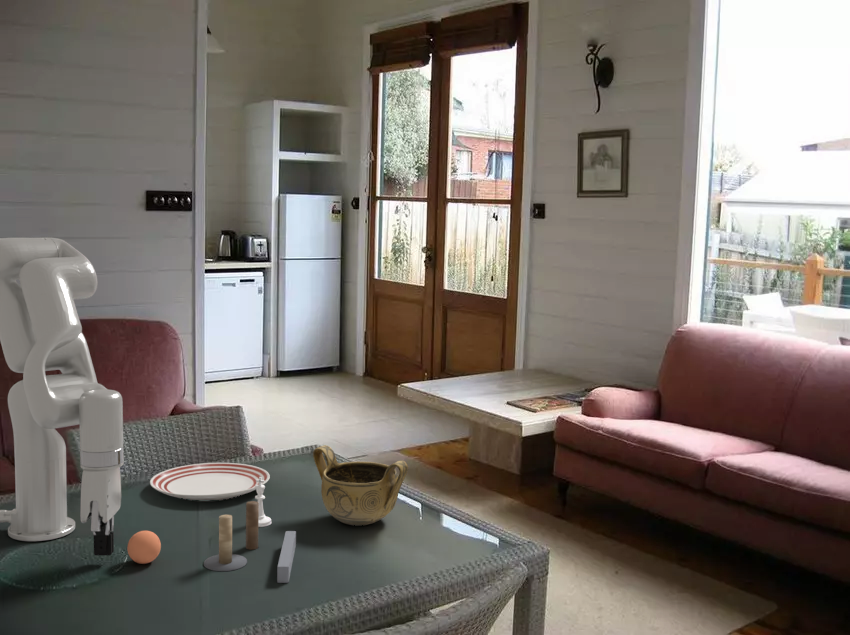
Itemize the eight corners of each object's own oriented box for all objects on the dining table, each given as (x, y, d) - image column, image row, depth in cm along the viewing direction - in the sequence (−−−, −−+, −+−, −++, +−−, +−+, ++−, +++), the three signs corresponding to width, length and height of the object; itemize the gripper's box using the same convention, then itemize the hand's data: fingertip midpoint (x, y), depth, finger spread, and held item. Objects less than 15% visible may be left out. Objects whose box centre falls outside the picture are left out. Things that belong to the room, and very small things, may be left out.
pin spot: (200, 571, 170) (200, 570, 170) (207, 554, 178) (207, 553, 178) (244, 571, 171) (244, 570, 171) (249, 554, 179) (249, 553, 179)
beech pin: (217, 565, 173) (218, 518, 172) (219, 560, 176) (220, 514, 174) (230, 565, 173) (231, 518, 172) (232, 560, 176) (233, 514, 175)
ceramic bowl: (293, 522, 198) (294, 453, 196) (337, 500, 213) (339, 437, 211) (383, 543, 187) (385, 470, 185) (423, 519, 202) (425, 452, 200)
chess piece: (266, 528, 194) (267, 481, 192) (244, 525, 195) (244, 479, 193) (275, 520, 198) (275, 475, 197) (253, 518, 199) (253, 472, 198)
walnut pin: (245, 549, 181) (245, 505, 180) (246, 545, 184) (247, 501, 183) (257, 549, 182) (257, 505, 180) (258, 545, 184) (259, 501, 183)
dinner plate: (124, 492, 215) (124, 478, 214) (214, 466, 237) (214, 454, 237) (206, 517, 199) (206, 502, 199) (293, 488, 222) (293, 474, 221)
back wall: (277, 582, 166) (277, 566, 166) (285, 545, 184) (285, 531, 184) (288, 582, 166) (288, 566, 166) (295, 545, 184) (295, 531, 184)
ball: (123, 568, 170) (123, 537, 169) (131, 556, 176) (131, 525, 175) (157, 568, 171) (156, 537, 170) (163, 556, 177) (163, 526, 176)
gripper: (94, 447, 178) (96, 539, 180) (67, 468, 163) (69, 569, 165) (133, 447, 178) (135, 539, 180) (110, 468, 163) (112, 569, 165)
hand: (103, 553), depth 172 cm, fingers closed
